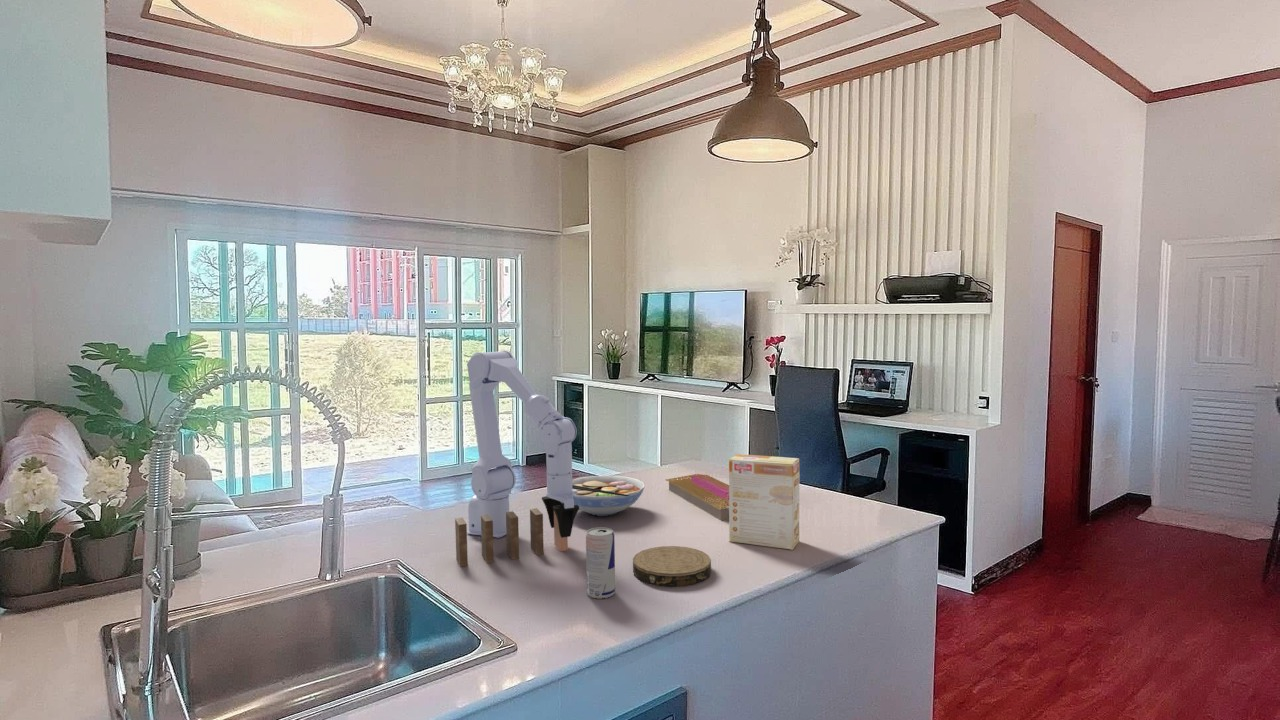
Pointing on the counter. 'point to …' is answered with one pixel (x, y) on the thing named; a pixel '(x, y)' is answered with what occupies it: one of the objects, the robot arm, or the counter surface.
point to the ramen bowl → (606, 493)
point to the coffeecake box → (764, 500)
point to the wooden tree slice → (672, 566)
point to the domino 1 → (461, 542)
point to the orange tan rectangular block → (559, 537)
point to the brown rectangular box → (703, 493)
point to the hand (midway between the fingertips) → (560, 531)
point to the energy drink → (600, 562)
